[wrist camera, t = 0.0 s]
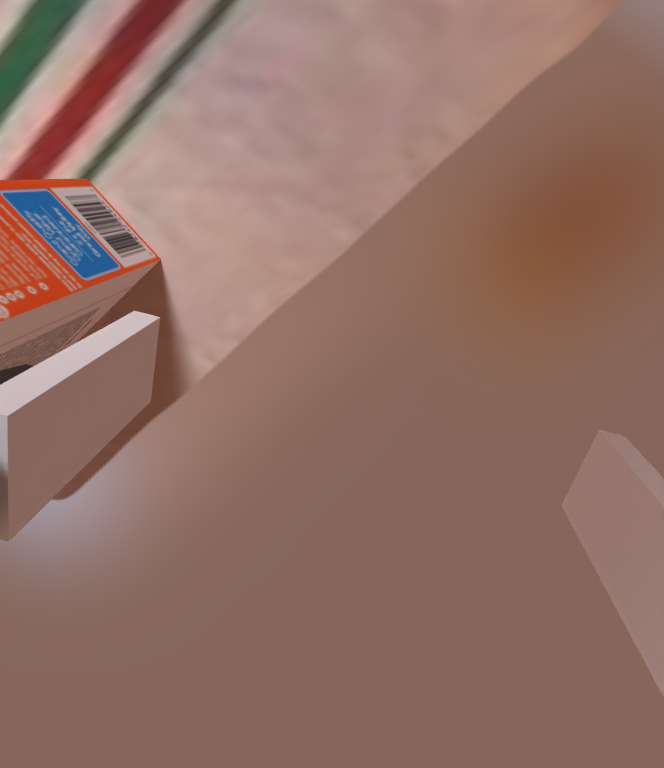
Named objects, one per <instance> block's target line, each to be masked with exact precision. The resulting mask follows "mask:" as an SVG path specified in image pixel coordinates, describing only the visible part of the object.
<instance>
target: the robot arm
mask: <svg viewBox="0 0 664 768" xmlns="http://www.w3.org/2000/svg"><path fill="white" fill-rule="evenodd" d="M159 325H160V317H157V316H154V315H150V314H146V313H142V312H138V311H133V312H131V313H129V314H128V315H126V316H124V317H122V318H120V319H119V320H117V321H115V322H113V323H111V324H110V325H108V326H106V327H104V328H102V329H100V330H99V331H97V332H95V333H93V334H91V335H90V336H88V337H86V338H84V339H82V340H81V341H79V342H77V343H75V344H73V345H71V346H70V347H68V348H66V349H64V350H62V351H61V352H59V353H57V354H55V355H53V356H52V357H50V358H48V359H46V360H44V361H43V362H41V363H39V364H37V365H35V366H32V365H28V364H24V365H20V366H16V367H12V368H7V369H3V370H1V371H0V539H2V540H6V541H9V540H10V539H11V538H12V537H13V536H14V535H15V534H16V533H17V532H18V531H19V530H20V529H22V528H23V527H24V526H25V525H26V524H27V523H28V522H29V520H31V519H32V518H33V517H34V516H35V515H36V514H37V513H38V512H39V511H40V510H41V509H42V508H43V507H44V506H45V505H46V504H47V503H48V502H49V501H50V500H51V499H52V498H53V497H54V496H55V495H56V494H57V493H58V492H59V491H60V490H61V489H62V488H63V487H64V486H65V485H66V484H67V483H68V482H69V481H70V480H71V479H72V478H73V477H74V476H76V475H77V474H78V473H79V472H80V471H81V470H82V469H83V468H84V467H85V466H86V465H87V464H88V463H89V462H90V461H91V460H92V459H93V458H94V457H95V456H96V455H97V454H98V453H99V452H100V451H101V450H102V449H103V448H104V447H105V446H106V445H107V444H108V443H109V442H110V441H111V440H112V439H113V438H114V437H115V436H116V435H117V434H118V433H119V432H120V431H121V430H122V429H123V428H124V427H125V426H126V425H127V424H128V423H129V422H130V421H132V420H133V419H134V418H135V417H136V416H137V415H138V414H139V413H140V412H141V411H142V410H143V409H144V408H145V407H146V406H147V405H148V404H149V403H150V402H151V397H152V388H153V379H154V370H155V361H156V352H157V343H158V334H159ZM561 507H562V508H563V510H564V512H565V514H566V516H567V518H568V520H569V522H570V523H571V525H572V527H573V529H574V531H575V533H576V535H577V536H578V538H579V540H580V542H581V544H582V546H583V548H584V550H585V551H586V553H587V555H588V557H589V558H590V560H591V563H592V564H593V566H594V568H595V570H596V572H597V574H598V576H599V578H600V579H601V581H602V583H603V585H604V587H605V589H606V591H607V592H608V594H609V596H610V598H611V600H612V602H613V603H614V605H615V607H616V609H617V611H618V613H619V615H620V617H621V619H622V620H623V622H624V624H625V626H626V628H627V630H628V632H629V633H630V635H631V637H632V639H633V641H634V643H635V645H636V647H637V648H638V650H639V652H640V654H641V656H642V658H643V660H644V661H645V663H646V665H647V667H648V669H649V671H650V673H651V675H652V676H653V678H654V680H655V682H656V684H657V686H658V688H659V689H660V691H661V693H662V695H663V697H664V478H663V477H662V476H661V475H660V474H659V473H658V472H657V471H656V470H655V469H654V468H653V466H652V465H651V464H650V463H649V462H648V461H647V460H646V459H645V458H644V457H643V456H642V455H641V453H640V452H639V451H638V450H637V449H636V448H635V447H634V446H633V445H632V444H631V443H630V442H629V440H628V439H627V438H626V437H625V436H622V435H618V434H615V433H611V432H606V431H602V430H599V431H598V433H597V435H596V437H595V439H594V441H593V443H592V445H591V447H590V449H589V451H588V453H587V455H586V457H585V459H584V461H583V463H582V465H581V467H580V469H579V471H578V473H577V475H576V477H575V479H574V481H573V483H572V485H571V487H570V489H569V491H568V493H567V495H566V497H565V499H564V501H563V503H562V505H561Z"/></svg>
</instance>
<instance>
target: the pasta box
mask: <svg viewBox="0 0 664 768" xmlns="http://www.w3.org/2000/svg"><path fill="white" fill-rule="evenodd" d="M160 260H161V259H160V258H159V257H158V256H157V255H156V254H155V253H154V251H153V250H152V249H151V248H150V247H149V246H148V245H147V244H146V243H145V242H144V241H143V239H142V238H141V237H140V236H139V235H138V234H137V233H136V232H135V231H134V230H133V229H132V227H131V226H130V225H129V224H128V223H127V222H126V221H125V220H124V219H123V218H122V217H121V215H120V214H119V213H118V212H117V211H116V210H115V209H114V208H113V207H112V206H111V205H110V203H109V202H108V201H107V200H106V199H105V198H104V197H103V196H102V195H101V194H100V193H99V191H98V190H97V189H96V188H95V187H94V186H93V185H92V184H91V183H90V182H89V181H88V179H44V180H0V371H1V370H3V369H7V368H12V367H16V366H20V365H24V364H28V365H32V366H35V365H37V364H39V363H41V362H43V361H44V360H46V359H48V358H50V357H52V356H53V355H55V354H57V353H59V352H61V351H62V350H64V349H66V348H68V347H70V346H71V345H73V344H75V343H76V342H77V341H78V340H79V339H80V338H81V337H82V336H83V335H84V334H85V333H86V332H87V331H88V330H89V329H90V328H91V327H92V326H93V325H94V324H95V323H97V322H98V321H99V320H100V319H101V318H102V317H103V316H104V315H105V314H106V313H107V312H108V311H109V310H110V309H111V308H112V307H113V306H114V305H115V304H116V303H117V302H118V301H119V300H120V299H121V298H122V297H123V296H124V295H125V294H126V293H127V292H128V291H129V290H130V289H131V288H132V287H133V286H134V285H135V284H136V283H137V282H138V281H139V280H140V279H141V278H142V277H143V276H144V275H146V274H147V273H148V272H149V271H150V270H151V269H152V268H153V267H154V266H155V265H156V264H157V263H158V262H159V261H160Z"/></svg>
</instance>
